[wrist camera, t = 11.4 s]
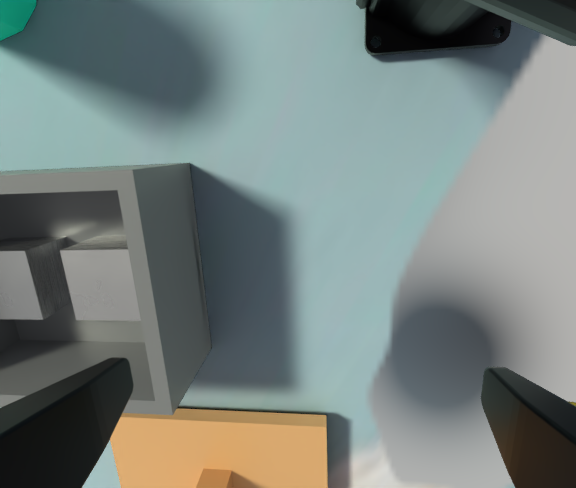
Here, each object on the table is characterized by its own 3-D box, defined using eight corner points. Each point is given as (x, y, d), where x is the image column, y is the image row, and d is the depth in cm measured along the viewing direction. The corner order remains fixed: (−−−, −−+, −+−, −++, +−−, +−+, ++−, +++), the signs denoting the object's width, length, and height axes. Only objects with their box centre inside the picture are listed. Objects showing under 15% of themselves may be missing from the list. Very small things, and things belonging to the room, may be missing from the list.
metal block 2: (160, 234, 20) (132, 249, 17) (169, 297, 21) (144, 320, 18) (97, 236, 21) (59, 250, 18) (109, 297, 22) (76, 320, 19)
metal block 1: (66, 236, 21) (24, 251, 18) (80, 297, 22) (43, 319, 19) (7, 237, 21) (-43, 251, 18) (24, 296, 22) (-21, 318, 20)
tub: (189, 162, 20) (132, 169, 14) (211, 347, 23) (173, 415, 17) (-27, 172, 21) (-158, 182, 16) (22, 343, 24) (-71, 403, 19)
